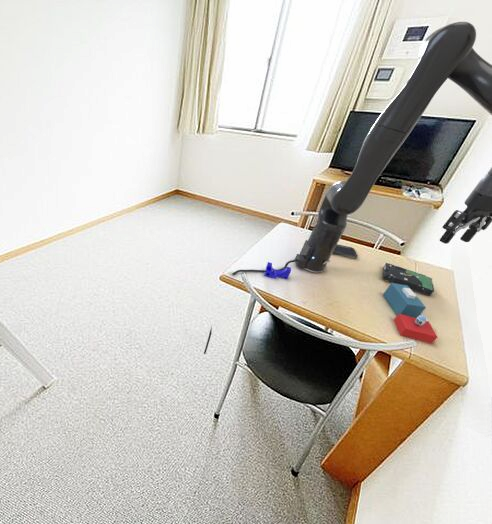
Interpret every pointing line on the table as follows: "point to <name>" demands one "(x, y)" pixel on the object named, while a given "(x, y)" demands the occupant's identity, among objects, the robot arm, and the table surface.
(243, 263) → the table surface
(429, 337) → the red rectangular block
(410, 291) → the tissue box
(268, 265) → the cable holder
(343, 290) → the table surface
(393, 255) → the table surface
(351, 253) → the phone
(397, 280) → the disk drive
